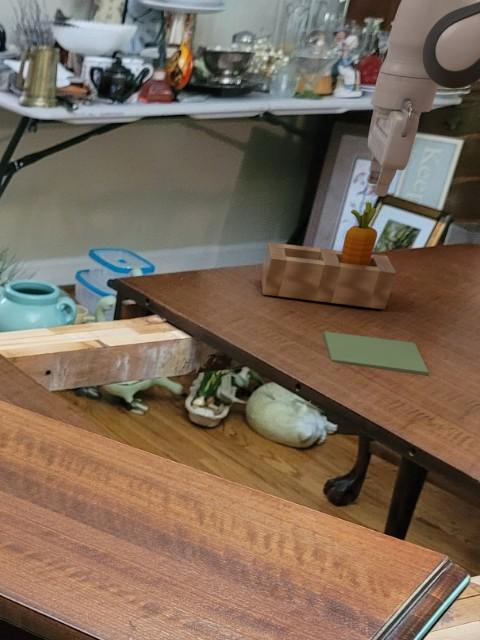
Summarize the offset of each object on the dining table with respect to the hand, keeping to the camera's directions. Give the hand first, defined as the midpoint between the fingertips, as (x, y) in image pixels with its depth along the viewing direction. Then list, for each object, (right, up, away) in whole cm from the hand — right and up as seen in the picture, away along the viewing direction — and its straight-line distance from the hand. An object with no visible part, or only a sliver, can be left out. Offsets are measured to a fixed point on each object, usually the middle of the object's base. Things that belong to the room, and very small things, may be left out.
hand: (376, 189), depth 176 cm
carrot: (-1, -15, +9) cm, 18 cm away
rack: (-5, -14, +10) cm, 18 cm away
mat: (-8, -31, -16) cm, 36 cm away
